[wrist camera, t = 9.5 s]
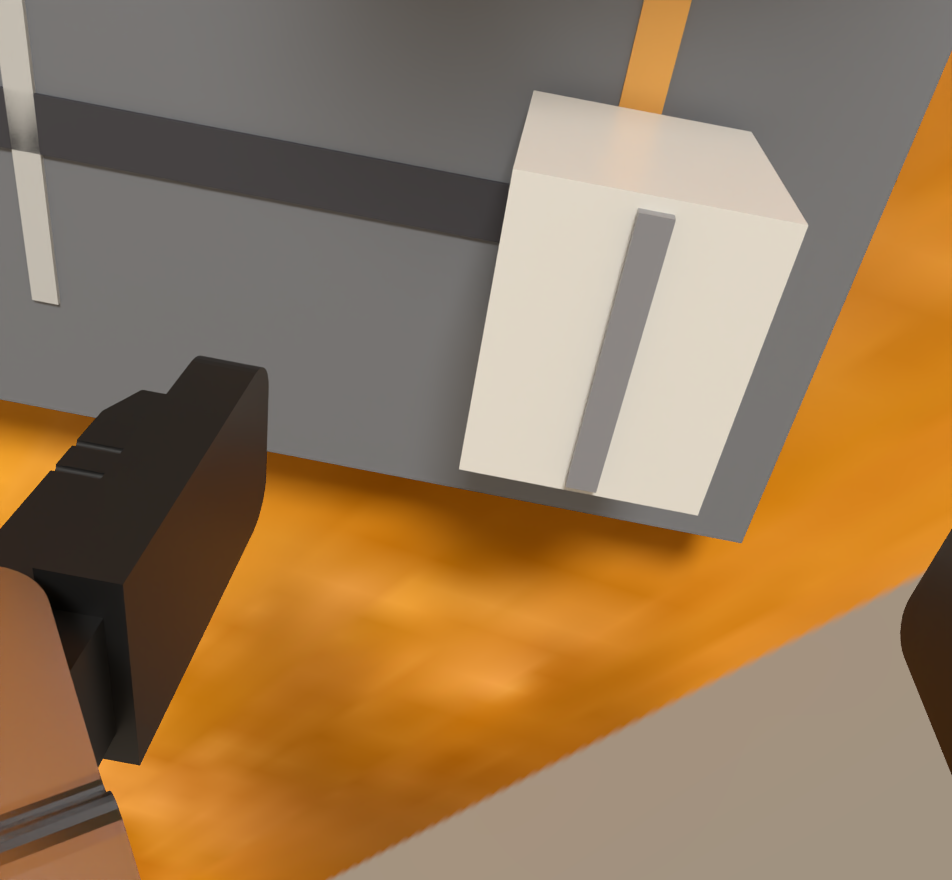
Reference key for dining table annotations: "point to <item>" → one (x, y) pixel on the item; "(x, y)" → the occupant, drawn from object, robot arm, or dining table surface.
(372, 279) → the console board
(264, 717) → the dining table surface
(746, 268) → the slider knob
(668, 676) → the dining table surface
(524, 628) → the dining table surface
